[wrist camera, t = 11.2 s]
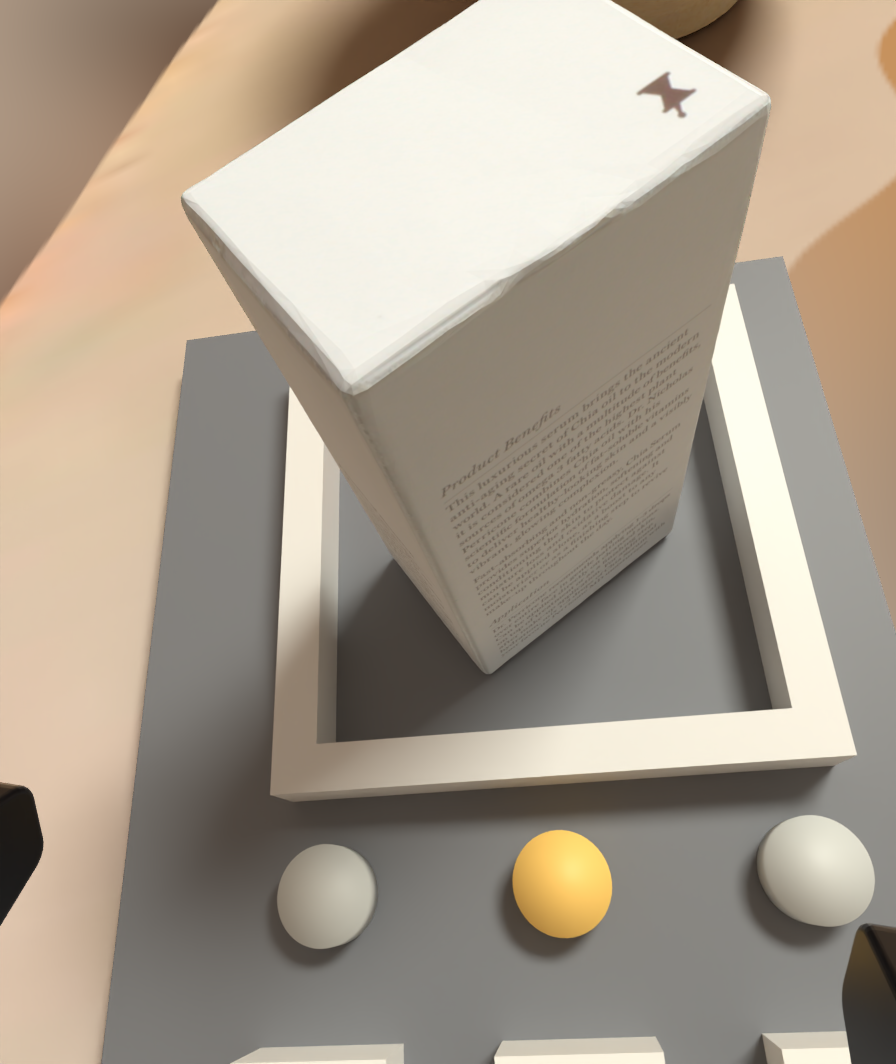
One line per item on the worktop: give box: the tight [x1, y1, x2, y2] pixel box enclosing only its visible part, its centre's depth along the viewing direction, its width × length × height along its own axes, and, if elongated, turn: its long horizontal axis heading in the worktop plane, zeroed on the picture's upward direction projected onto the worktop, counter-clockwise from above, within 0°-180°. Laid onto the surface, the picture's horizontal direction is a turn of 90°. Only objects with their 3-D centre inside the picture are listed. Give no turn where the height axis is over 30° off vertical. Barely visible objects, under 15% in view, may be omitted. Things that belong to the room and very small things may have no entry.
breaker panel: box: [101, 256, 896, 1064], centre depth 18 cm, size 24×18×3 cm
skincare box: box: [181, 0, 771, 674], centre depth 14 cm, size 6×4×12 cm
